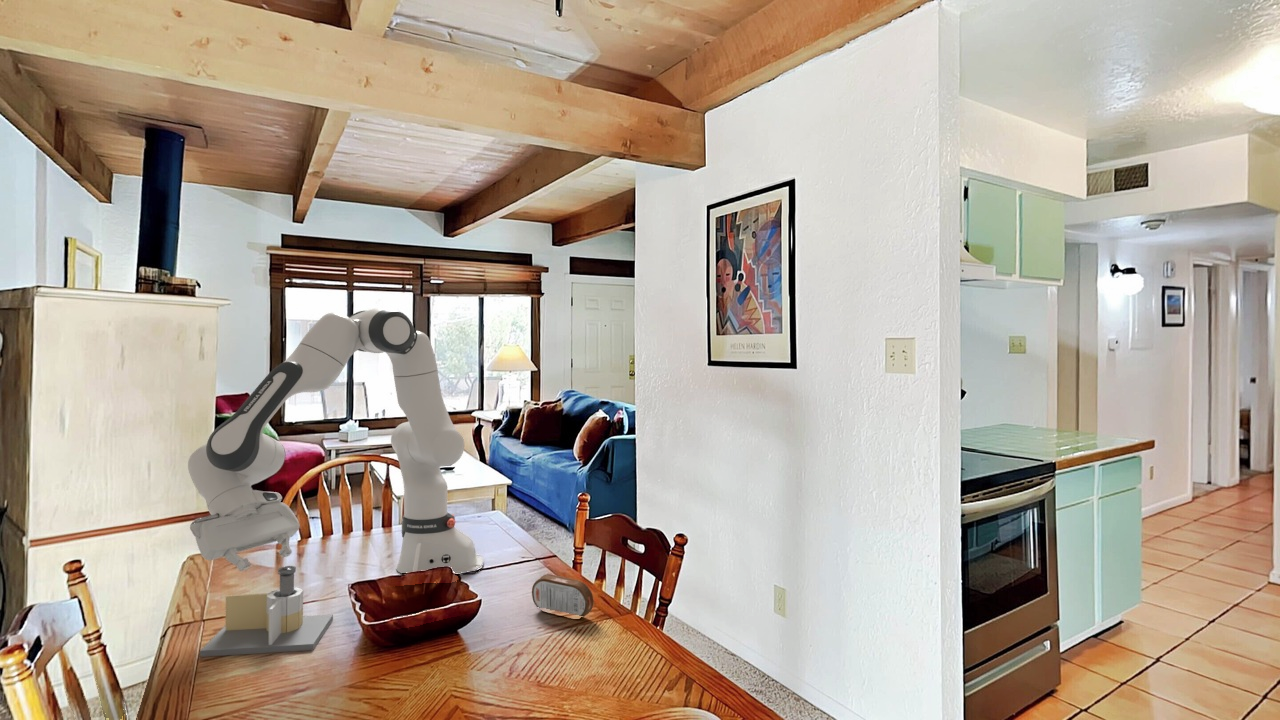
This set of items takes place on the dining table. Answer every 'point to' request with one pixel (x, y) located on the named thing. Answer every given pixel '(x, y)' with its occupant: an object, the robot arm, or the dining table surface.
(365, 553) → the dining table surface
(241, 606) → the hinge
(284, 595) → the hinge pin
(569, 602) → the tin
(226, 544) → the robot arm
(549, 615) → the dining table surface
